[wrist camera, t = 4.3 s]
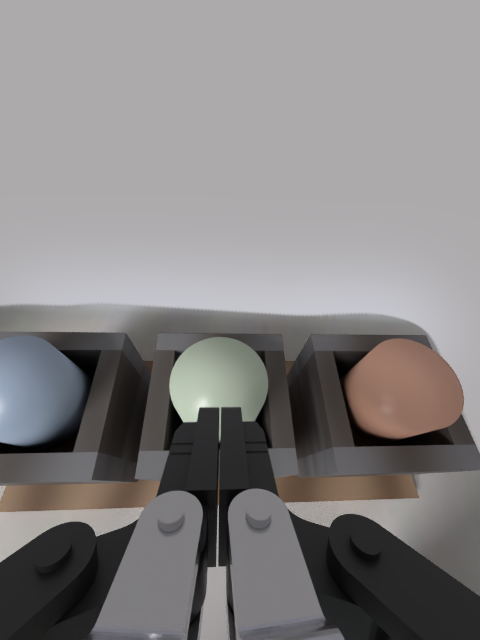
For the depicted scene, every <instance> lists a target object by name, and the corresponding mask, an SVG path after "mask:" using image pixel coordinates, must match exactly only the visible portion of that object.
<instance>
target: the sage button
mask: <svg viewBox="0 0 480 640" xmlns="http://www.w3.org/2000/svg"><path fill="white" fill-rule="evenodd" d="M169 388H170V395H171V400H172V402H173V405H174V407H175V409H176V410H177V412H178V414H179V416H180V417H181V419H182V421H183V422H197V418H198V412H199V408H200V407H219V446H220V437H221V407H241V412H242V421H255V420H256V418H257V416H258V414H259V412H260V410H261V408H262V406H263V405H264V402H265V400H266V396H267V392H268V376H267V372H266V368H265V366H264V364H263V362H262V360H261V358H260V357H259V356H258V354H257V353H256V352H255V351H254V350H253V349H252V348H250V347H249V346H248V345H246V344H244V343H243V342H241V341H238V340H235V339H232V338H227V337H213V338H208V339H204V340H201V341H199V342H197V343H195V344H193V345H192V346H190V347H189V348H187V349H186V350H185V351H184V352H183V353H182V354H181V356H180V357H179V358H178V360H177V361H176V363H175V365H174V367H173V369H172V372H171V376H170V385H169Z"/></svg>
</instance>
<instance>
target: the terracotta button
mask: <svg viewBox="0 0 480 640" xmlns="http://www.w3.org/2000/svg"><path fill="white" fill-rule="evenodd" d="M340 385H341V389H342V393H343V398H344V402H345V406H346V411H347V415H348V419H349V424H350V428H351V429H352V430H353V431H354V432H356V433H357V434H358V435H360V436H361V437H363V438H365V439H367V440H370V441H373V442H378V443H388V442H392V441H396V440H400V439H404V438H408V437H411V436H415V435H419V434H423V433H427V432H430V431H434V430H438V429H442V428H446V427H448V426H450V425H452V424H453V423H454V422H455V421H456V420H457V419H458V418H459V416H460V415H461V413H462V410H463V405H464V396H463V390H462V387H461V384H460V382H459V379H458V377H457V376H456V374H455V372H454V371H453V369H452V368H451V367H450V365H449V364H448V363H447V362H446V361H445V360H444V359H443V358H442V357H441V356H440V355H439V354H437V353H436V352H435V351H433V350H432V349H430V348H428V347H427V346H425V345H423V344H421V343H418V342H416V341H412V340H408V339H400V338H397V339H389V340H386V341H383V342H381V343H380V344H378V345H377V346H376V347H375V348H374V349H373V350H371V351H370V352H369V353H368V354H367V355H366V356H365V357H364V358H363V359H361V360H360V361H359V362H358V363H357V364H356V365H355V366H354V367H353V368H351V369H350V370H349V371H348V372H347V373H346V374H345V375H344V376H343V377H342V378H341V379H340Z"/></svg>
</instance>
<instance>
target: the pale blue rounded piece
mask: <svg viewBox="0 0 480 640" xmlns="http://www.w3.org/2000/svg"><path fill="white" fill-rule="evenodd" d="M92 382H93V380H92V379H91V378H90V377H89V376H88V375H87V374H86V373H85V372H84V371H82V370H81V369H80V368H79V367H78V366H76V365H75V364H74V363H73V362H72V361H70V360H69V359H68V358H67V357H66V356H65V355H63V354H62V353H61V352H60V351H59V350H57V349H56V348H55V347H54V346H53V345H51V344H50V343H49V342H47V341H46V340H44V339H42V338H39V337H35V336H27V335H22V336H13V337H8V338H4V339H1V340H0V442H2V443H7V444H12V445H17V446H22V447H27V448H32V449H48V448H52V447H55V446H58V445H60V444H63V443H65V442H66V441H68V440H70V439H71V438H72V437H74V436H75V435H76V434H77V433H79V429H80V425H81V422H82V418H83V415H84V411H85V407H86V404H87V400H88V397H89V393H90V389H91V386H92Z"/></svg>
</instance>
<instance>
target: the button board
mask: <svg viewBox="0 0 480 640" xmlns="http://www.w3.org/2000/svg"><path fill="white" fill-rule="evenodd" d="M22 335H27V336H35V337H39V338H42V339H44V340H46V341H47V342H49V343H50V344H51V345H53V346H54V347H55V348H56V349H57V350H59V351H60V352H61V353H62V354H63V355H65V356H66V357H67V358H68V359H69V360H70V361H72V362H73V363H74V364H75V365H76V366H78V367H79V368H80V369H81V370H82V371H84V372H85V373H86V374H87V375H88V376H89V377H90V378H91V379H92V380H93V382H92V386H91V389H90V393H89V397H88V400H87V404H86V407H85V411H84V415H83V418H82V422H81V425H80V429H79V433H77V434H76V435H75V436H74V437H72V438H71V439H70V440H68V441H66V442H65V443H63V444H60V445H58V446H55V447H52V448H48V449H32V448H27V447H22V446H17V445H12V444H7V443H2V442H0V485H6V488H5V491H4V493H3V496H2V499H1V501H0V512H15V511H44V510H74V509H104V508H134V507H146V506H147V505H148V504H149V502H151V501H152V500H153V499H154V498H156V495H157V492H158V488H159V485H160V481H161V478H162V475H163V471H164V468H165V464H166V461H167V457H168V455H169V450H170V447H171V445H172V440H173V437H174V433H175V431H176V430H177V429H178V428H179V427H180V426H181V425H182V424H183V421H182V419H181V417H180V416H179V414H178V412H177V410H176V409H175V407H174V405H173V402H172V400H171V395H170V388H169V385H170V376H171V372H172V369H173V367H174V365H175V363H176V361H177V360H178V358H179V357H180V356H181V354H182V353H183V352H184V351H185V350H186V349H187V348H189V347H190V346H192V345H193V344H195V343H197V342H199V341H201V340H204V339H208V338H213V337H227V338H232V339H235V340H238V341H241V342H243V343H244V344H246V345H248V346H249V347H250V348H252V349H253V350H254V351H255V352H256V353H257V354H258V356H259V357H260V358H261V360H262V362H263V364H264V366H265V368H266V372H267V376H268V392H267V396H266V400H265V402H264V405H263V406H262V408H261V410H260V412H259V414H258V416H257V418H256V420H255V421H256V422H257V423H258V424H259V426H260V427H261V428H262V429H263V430H264V434H265V438H266V444H267V447H268V453H269V456H270V460H271V464H272V469H273V473H274V478H275V482H276V486H277V491H278V494H279V497H280V499H281V500H282V501H283V502H312V501H342V500H371V499H401V498H419V496H418V493H417V490H416V487H415V484H414V480H413V477H412V474H425V473H440V472H456V471H472V470H480V454H479V452H478V449H477V447H476V445H475V443H474V441H473V438H472V436H471V434H470V432H469V430H468V427H467V425H466V423H465V421H464V418H463V416H462V414H461V415H460V416H459V418H458V419H457V420H456V421H455V422H454V423H453V424H452V425H450V426H448V427H446V428H442V429H438V430H434V431H430V432H427V433H423V434H419V435H415V436H411V437H408V438H404V439H400V440H396V441H392V442H388V443H378V442H373V441H370V440H367V439H365V438H363V437H361V436H360V435H358V434H357V433H356V432H354V431H353V430H352V429H351V428H350V424H349V419H348V415H347V411H346V406H345V402H344V398H343V393H342V389H341V385H340V379H341V378H342V377H343V376H344V375H345V374H346V373H347V372H348V371H349V370H350V369H351V368H353V367H354V366H355V365H356V364H357V363H358V362H359V361H360V360H361V359H363V358H364V357H365V356H366V355H367V354H368V353H369V352H370V351H371V350H373V349H374V348H375V347H376V346H377V345H378V344H380V343H381V342H383V341H386V340H389V339H397V338H400V339H408V340H412V341H416V342H418V343H421V344H423V345H425V346H427V347H428V348H430V349H432V348H431V346H430V343H429V341H428V339H427V337H426V335H321V334H311V336H310V337H309V339H308V341H307V342H306V344H305V346H304V347H303V349H302V351H301V352H300V354H299V356H298V357H297V359H296V361H285V359H284V350H283V342H282V334H205V333H158V336H157V342H156V348H155V355H154V361H143V360H142V358H141V357H140V355H139V353H138V352H137V350H136V348H135V347H134V345H133V344H132V342H131V340H130V339H129V337H128V336H127V334H126V333H88V332H0V340H1V339H4V338H8V337H13V336H22ZM219 478H220V446H219V474H218V505H219Z"/></svg>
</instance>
